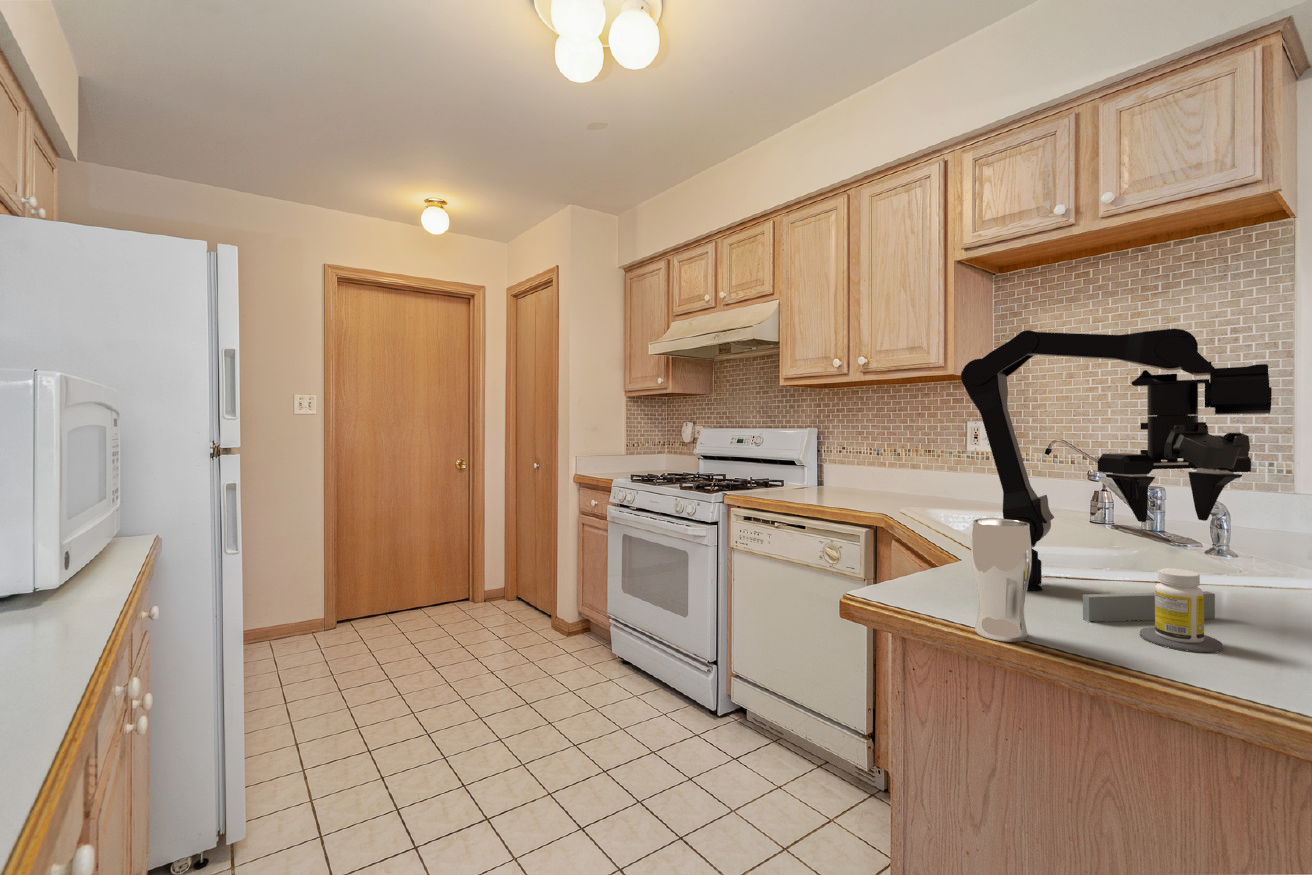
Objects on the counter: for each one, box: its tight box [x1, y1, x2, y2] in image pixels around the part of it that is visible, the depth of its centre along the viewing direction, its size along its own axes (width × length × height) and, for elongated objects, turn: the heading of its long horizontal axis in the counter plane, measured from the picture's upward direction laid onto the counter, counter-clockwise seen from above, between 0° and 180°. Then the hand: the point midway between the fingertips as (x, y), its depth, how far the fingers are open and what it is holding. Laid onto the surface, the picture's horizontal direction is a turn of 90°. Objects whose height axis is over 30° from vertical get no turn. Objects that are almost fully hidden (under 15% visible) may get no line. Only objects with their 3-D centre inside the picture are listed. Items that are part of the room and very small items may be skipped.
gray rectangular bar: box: [1082, 591, 1216, 622], centre depth 86 cm, size 18×1×4 cm, turn 91°
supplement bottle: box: [1154, 567, 1205, 643], centre depth 77 cm, size 5×5×8 cm
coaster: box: [1139, 626, 1224, 653], centre depth 78 cm, size 8×8×1 cm
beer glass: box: [970, 517, 1032, 643], centre depth 81 cm, size 7×7×15 cm
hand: (1172, 521), depth 90 cm, fingers open, 9 cm apart
